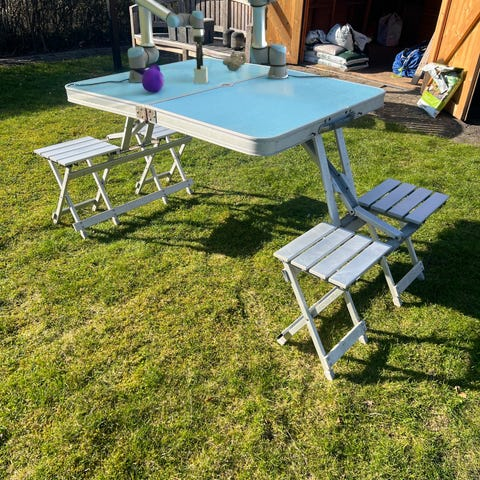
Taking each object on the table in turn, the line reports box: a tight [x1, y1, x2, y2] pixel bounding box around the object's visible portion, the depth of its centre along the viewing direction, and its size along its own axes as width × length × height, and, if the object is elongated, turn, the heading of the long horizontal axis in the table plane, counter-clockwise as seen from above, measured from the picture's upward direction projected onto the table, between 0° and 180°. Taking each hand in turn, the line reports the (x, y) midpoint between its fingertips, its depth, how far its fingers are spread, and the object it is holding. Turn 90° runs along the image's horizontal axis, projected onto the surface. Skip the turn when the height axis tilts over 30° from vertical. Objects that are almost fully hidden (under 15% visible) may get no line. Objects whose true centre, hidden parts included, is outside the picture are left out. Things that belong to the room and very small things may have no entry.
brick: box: [193, 65, 209, 85], centre depth 328 cm, size 8×9×11 cm
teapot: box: [222, 50, 247, 72], centre depth 365 cm, size 21×12×15 cm, turn 120°
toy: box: [134, 64, 165, 94], centre depth 304 cm, size 16×18×27 cm
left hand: (200, 67), depth 325 cm, fingers open, 13 cm apart
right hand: (265, 29), depth 360 cm, fingers open, 13 cm apart
